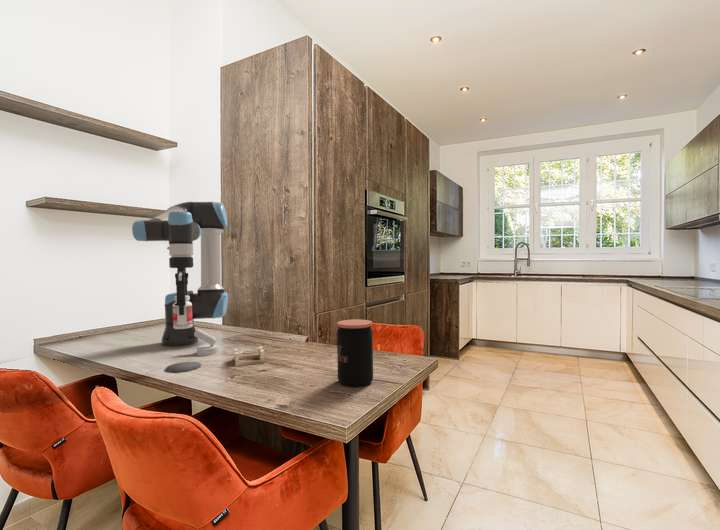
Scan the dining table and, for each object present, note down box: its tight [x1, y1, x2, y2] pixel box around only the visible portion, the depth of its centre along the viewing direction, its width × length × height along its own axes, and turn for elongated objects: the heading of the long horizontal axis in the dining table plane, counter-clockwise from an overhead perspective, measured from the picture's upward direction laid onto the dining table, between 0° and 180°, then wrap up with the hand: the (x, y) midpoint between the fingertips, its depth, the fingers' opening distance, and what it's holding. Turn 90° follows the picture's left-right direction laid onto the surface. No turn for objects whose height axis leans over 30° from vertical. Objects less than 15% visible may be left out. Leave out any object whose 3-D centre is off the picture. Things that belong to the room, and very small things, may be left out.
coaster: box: [165, 361, 202, 373], centre depth 133 cm, size 11×11×1 cm
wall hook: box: [194, 328, 221, 357], centre depth 154 cm, size 9×10×10 cm
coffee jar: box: [336, 318, 374, 388], centre depth 115 cm, size 11×11×18 cm
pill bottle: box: [173, 295, 193, 329], centre depth 133 cm, size 6×6×11 cm
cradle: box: [233, 346, 266, 367], centre depth 141 cm, size 10×10×4 cm
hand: (182, 322), depth 133 cm, fingers closed on pill bottle, 6 cm apart
